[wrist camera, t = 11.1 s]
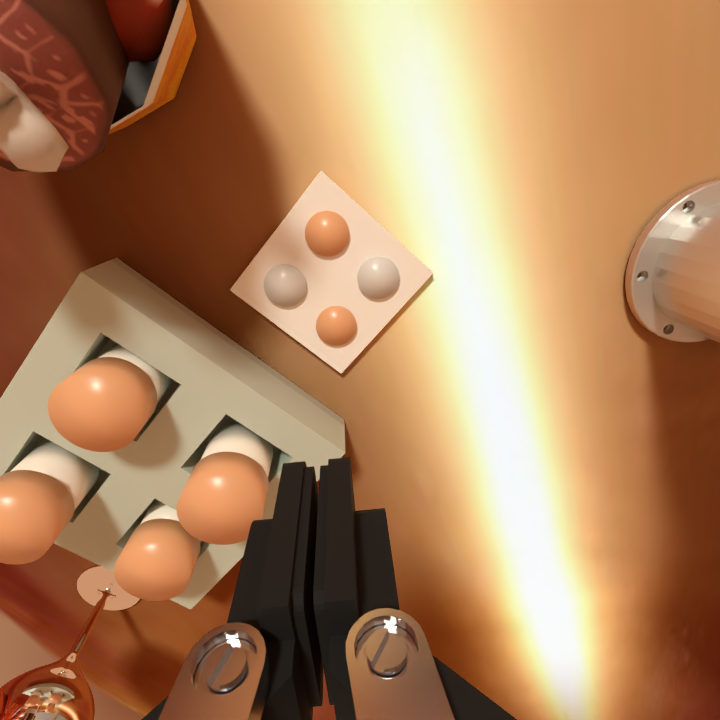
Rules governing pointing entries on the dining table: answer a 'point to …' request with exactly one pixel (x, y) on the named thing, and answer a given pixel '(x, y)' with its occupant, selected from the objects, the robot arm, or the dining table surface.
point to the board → (158, 412)
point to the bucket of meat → (84, 74)
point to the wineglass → (65, 663)
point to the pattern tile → (331, 275)
